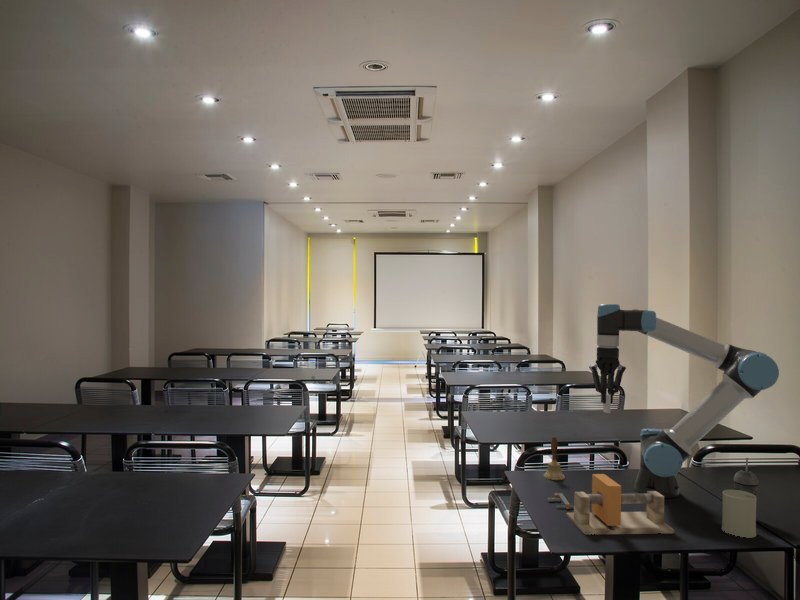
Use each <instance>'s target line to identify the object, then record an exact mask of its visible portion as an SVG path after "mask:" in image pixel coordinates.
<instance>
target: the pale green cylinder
mask: <svg viewBox="0 0 800 600" xmlns="http://www.w3.org/2000/svg"><path fill="white" fill-rule="evenodd" d="M721 512H722V518H721V519H722V520H721V530H722V531H723V532H724V531H725V532H724V533H726V534H728V533H729V534H728V535H730V534H732V535H731V536H733V535H735V536H734V537H737V536H740V537H739V538H743V537H746V538H745V539H750V538H751V539H752V538H755V537H757V523H756V522H757V495H756V496H755V495H753V494H751V493H748V492H745V491H740V490H735V489H724V490H722V511H721Z"/></svg>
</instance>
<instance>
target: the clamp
mask: <svg viewBox="0 0 800 600" xmlns="http://www.w3.org/2000/svg"><path fill="white" fill-rule="evenodd" d="M560 501H561V502H564V504H565V505H562V504H561V505H555V508H560V509H565V508H566V509H565V510H567V509H569V510H571V509H574V505H571V504H570V502H569V501H568V500H567V498H566V496H565V494H564V493H563V492H554V493H553V497H547V502H549V503H553V502H560ZM561 502H560V503H561Z"/></svg>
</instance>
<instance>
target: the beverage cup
mask: <svg viewBox="0 0 800 600" xmlns="http://www.w3.org/2000/svg"><path fill="white" fill-rule="evenodd" d="M748 464H749V457H745V469H740V470H739V471H736V473H735V474H734V476H733V480H732V482H733V487H734V490H740V491H745V492H748V493H751V494H753V495H755V496H756V497H757V491H759V490H758V489H759V485H760V484H759V480H758V477H757V475H756V474H755V473H753V472H752V471H751V470H749V469H748V467H749V466H748Z"/></svg>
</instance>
